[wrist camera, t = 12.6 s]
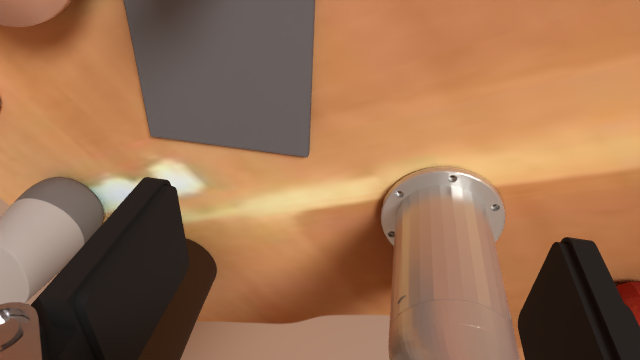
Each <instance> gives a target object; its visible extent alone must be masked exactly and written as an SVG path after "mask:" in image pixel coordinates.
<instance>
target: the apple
mask: <svg viewBox="0 0 640 360" xmlns="http://www.w3.org/2000/svg"><path fill="white" fill-rule="evenodd" d="M616 287H617V289H618V291H619V294H620V296H621V298H622V300H623V302H624V304H626V305H627V306H628V307H629V308H630V309H631V311H632V312H633V314H634V316H635V318H636V320H637V322H638V324H639V326H640V281H639V282H627V283H623V284H620V285H617V286H616Z"/></svg>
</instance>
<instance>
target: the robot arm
mask: <svg viewBox="0 0 640 360" xmlns="http://www.w3.org/2000/svg"><path fill="white" fill-rule="evenodd" d="M451 175H452V176H451ZM504 224H505V210H504V206H503V202H502V200H501V197H500V195H499V193H498V192H497V190H496V189H495V188H494V186H493V185H492V184H490V183H489V182H488V181H487V180H486V179H485V178H483V177H481V176H479V175H477V174H476V173H473V172H471V171H468V170H465V169H461V168H455V167H432V168H425V169H422V170H419V171H416V172H413V173H411V174H409V175H407V176H405V177H403V178H402V179H401V180H399V181H398V182H397V183H395V185H394V186H393V187H392V188H391V189H390V190H389V191H388V193H387V195H386V197H385V198H384V201H383V205H382V209H381V226H382V229H383V232H384V234H385V236H386V237H387V239H388V241H389V242H390V243H391V244H392V245H393V246H394V255H393V274H392V292H391V310H390V329H389V358H390V360H520V357H519V352H518V348H517V343H516V339H515V334H514V329H513V324H512V320H511V315H510V311H509V306H508V301H507V297H506V292H505V287H504V283H503V278H502V273H501V269H500V264H499V260H498V255H497V250H496V246H495V242H496V241H497V240H498V239H499V237H500V235H501V233H502V231H503V228H504ZM188 267H189V257H188V251H187V245H186V240H185V234H184V228H183V223H182V217H181V212H180V206H179V200H178V195H177V190H176V188H175V187H173V186H171V184H170V182H169V181H168V180H164V179H157V178H150V177H146V178H144V179H142V180H141V181H140V183H139V184H138V185H137V186H136V187H135V188H134V189H133V191H132V192H131V193H130V194H129V195H128V196H127V197H126V198H125V200H124V201H123V202H122V203H121V204H120V205H119V206H118V208H117V209H116V210H115V211H114V212H113V213H112V214H111V216H110V217H109V218H108V219H107V220H106V221H105V222H104V223H103V225H102V226H101V227H99V228H98V230H97V231H96V232H95V233H94V234H93V235H92V236H91V237H90V239H89V240H88V241H87V242H86V243H85V244H84V245H83V247H82V248H81V249H80V250H79V251H78V252H77V253H76V254H75V256H74V257H73V258H72V259H71V260H70V261H69V262H68V264H67V265H66V266H65V267H64V268H63V269H62V270H61V271H60V273H59V274H58V275H57V276H56V277H55V278H54V279H53V281H52V282H51V283H50V284H49V285H48V286H47V287H46V289H45V290H44V291H43V292H42V293H41V294H40V295H39V297H38V298H37V299H36V300H35V301H34V302H33V303H32V304H31V305H29V304H25V303H22V302H9V303H4V304H0V360H138V358H139V356H140V355H141V353H142V351H143V349H144V348H145V346H146V344H147V342H148V341H149V339H150V337H151V335H152V333H153V332H154V330H155V328H156V326H157V325H158V323H159V321H160V319H161V318H162V316H163V314H164V312H165V310H166V309H167V307H168V305H169V303H170V302H171V300H172V298H173V296H174V295H175V293H176V291H177V289H178V287H179V286H180V284H181V282H182V280H183V279H184V277H185V275H186V273H187V271H188ZM518 330H519V335H520V339H521V343H522V348H523V352H524V357H525V360H640V326H639V324H638V322H637V320H636V318H635V316H634V314H633V312H632V311H631V309H630V308H629V307H628V306H627V305H626V304H624V302H623V300H622V298H621V296H620V294H619V291H618V289H617V287H616V285H615V283H614V281H613V279H612V277H611V275H610V273H609V271H608V269H607V267H606V265H605V263H604V260H603V258H602V256H601V254H600V252H599V250H598V248H597V246H596V244H595V243H594V242H593V241H589V240H582V239H576V238H569V237H566V238H564V239H562V241H561V242H555V243H554V244H553V245H552V247H551V249H550V251H549V253H548V255H547V257H546V259H545V262H544V264H543V266H542V268H541V270H540V272H539V274H538V276H537V278H536V281H535V283H534V285H533V287H532V289H531V291H530V293H529V295H528V297H527V300H526V302H525V304H524V306H523V308H522V310H521V312H520V315H519V318H518Z"/></svg>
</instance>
